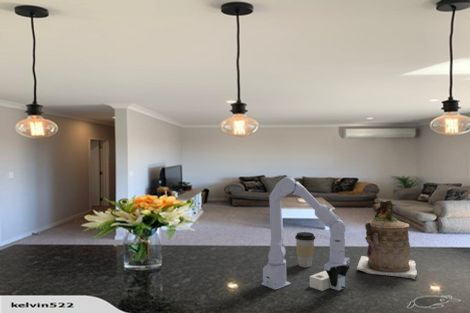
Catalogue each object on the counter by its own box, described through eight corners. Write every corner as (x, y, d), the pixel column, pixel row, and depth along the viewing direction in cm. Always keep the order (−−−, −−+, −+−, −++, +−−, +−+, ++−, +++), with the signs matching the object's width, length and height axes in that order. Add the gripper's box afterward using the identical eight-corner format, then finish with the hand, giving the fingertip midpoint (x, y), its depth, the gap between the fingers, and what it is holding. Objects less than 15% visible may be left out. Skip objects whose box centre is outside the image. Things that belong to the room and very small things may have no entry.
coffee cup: (292, 266, 172) (292, 234, 171) (298, 261, 180) (298, 231, 180) (312, 269, 167) (312, 236, 167) (317, 264, 175) (317, 232, 175)
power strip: (309, 286, 146) (309, 274, 146) (335, 276, 158) (335, 265, 158) (322, 290, 142) (322, 278, 141) (348, 280, 153) (348, 268, 153)
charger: (324, 286, 146) (324, 274, 146) (331, 283, 149) (331, 272, 149) (345, 292, 139) (345, 280, 139) (351, 289, 141) (351, 278, 141)
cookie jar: (415, 264, 174) (415, 197, 174) (417, 280, 152) (417, 203, 151) (361, 258, 184) (360, 195, 184) (355, 273, 162) (355, 201, 162)
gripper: (335, 255, 136) (335, 292, 136) (356, 248, 145) (356, 282, 146) (319, 251, 141) (319, 286, 141) (341, 245, 151) (341, 278, 151)
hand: (337, 284), depth 144 cm, fingers closed on charger, 4 cm apart
